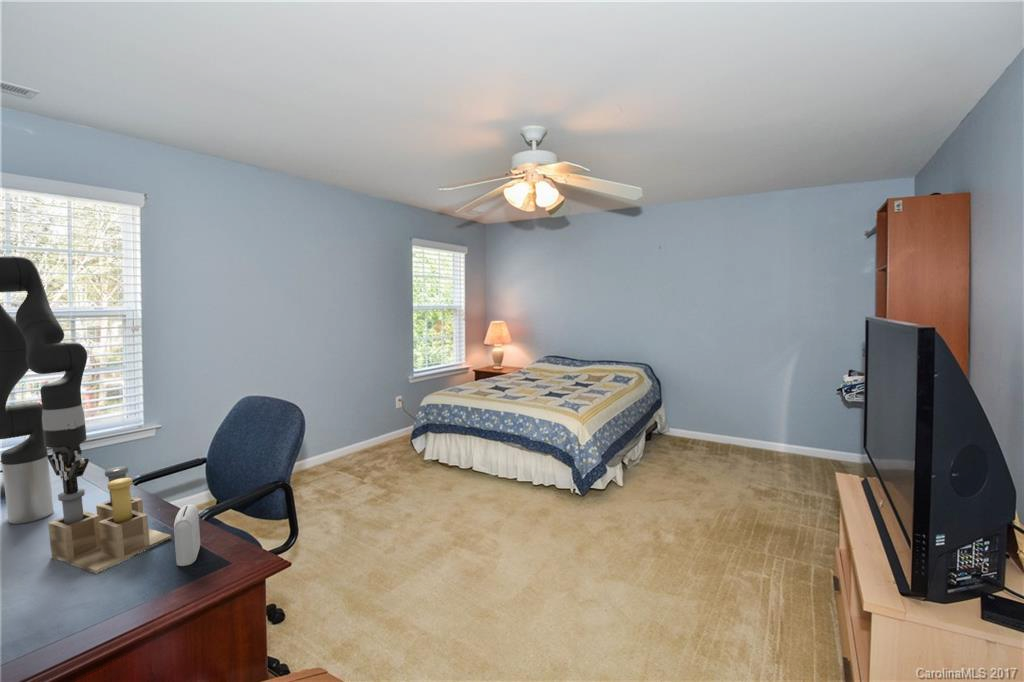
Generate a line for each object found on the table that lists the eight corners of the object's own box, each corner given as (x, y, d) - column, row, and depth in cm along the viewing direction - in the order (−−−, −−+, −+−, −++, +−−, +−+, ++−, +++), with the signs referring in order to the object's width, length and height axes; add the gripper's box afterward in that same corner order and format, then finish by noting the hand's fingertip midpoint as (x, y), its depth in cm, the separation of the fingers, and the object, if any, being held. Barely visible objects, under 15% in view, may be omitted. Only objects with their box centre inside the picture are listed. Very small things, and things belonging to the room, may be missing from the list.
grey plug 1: (57, 533, 118) (53, 495, 116) (81, 524, 122) (77, 487, 121) (69, 537, 116) (65, 498, 115) (92, 528, 120) (88, 490, 119)
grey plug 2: (103, 507, 127) (100, 471, 125) (124, 500, 131) (121, 465, 130) (115, 511, 125) (111, 474, 124) (135, 503, 129) (132, 467, 128)
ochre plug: (106, 522, 118) (102, 483, 117) (127, 513, 122) (124, 476, 121) (118, 526, 116) (115, 487, 115) (139, 517, 121) (136, 479, 120)
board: (51, 557, 118) (48, 522, 117) (128, 525, 133) (125, 494, 132) (96, 574, 111) (92, 537, 110) (171, 538, 127) (168, 506, 126)
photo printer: (182, 547, 123) (179, 501, 121) (202, 543, 125) (199, 498, 123) (174, 568, 114) (170, 519, 112) (195, 564, 115) (192, 516, 114)
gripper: (29, 425, 115) (36, 494, 117) (60, 432, 110) (68, 504, 112) (67, 417, 122) (73, 482, 124) (99, 423, 117) (105, 491, 119)
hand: (71, 492), depth 118 cm, fingers closed
